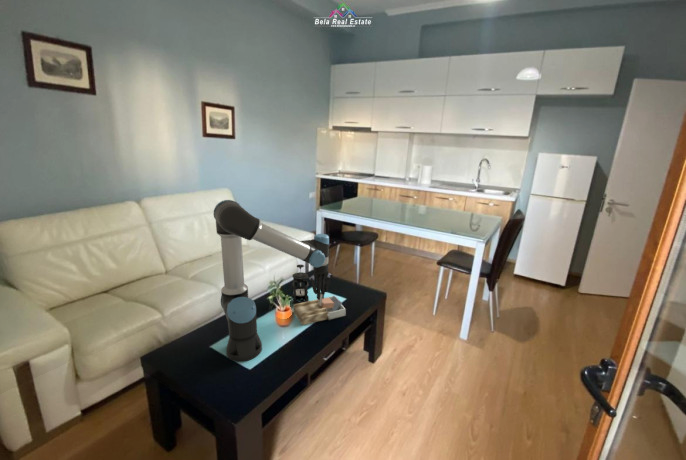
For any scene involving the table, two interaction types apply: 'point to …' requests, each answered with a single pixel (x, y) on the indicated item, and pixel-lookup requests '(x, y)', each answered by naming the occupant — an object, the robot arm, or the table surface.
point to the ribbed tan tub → (310, 312)
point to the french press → (299, 291)
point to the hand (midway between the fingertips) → (320, 304)
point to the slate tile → (336, 303)
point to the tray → (336, 314)
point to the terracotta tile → (327, 303)
